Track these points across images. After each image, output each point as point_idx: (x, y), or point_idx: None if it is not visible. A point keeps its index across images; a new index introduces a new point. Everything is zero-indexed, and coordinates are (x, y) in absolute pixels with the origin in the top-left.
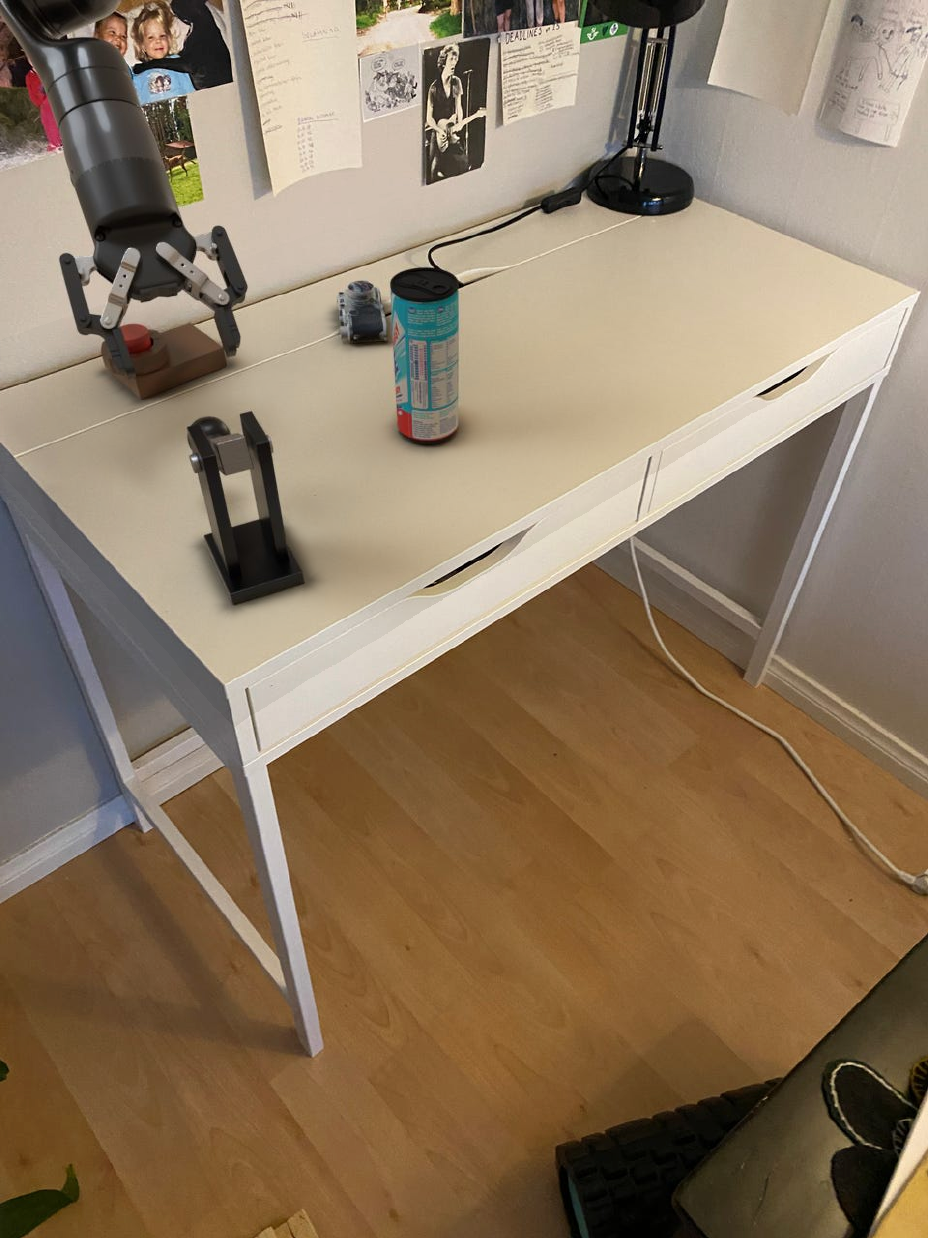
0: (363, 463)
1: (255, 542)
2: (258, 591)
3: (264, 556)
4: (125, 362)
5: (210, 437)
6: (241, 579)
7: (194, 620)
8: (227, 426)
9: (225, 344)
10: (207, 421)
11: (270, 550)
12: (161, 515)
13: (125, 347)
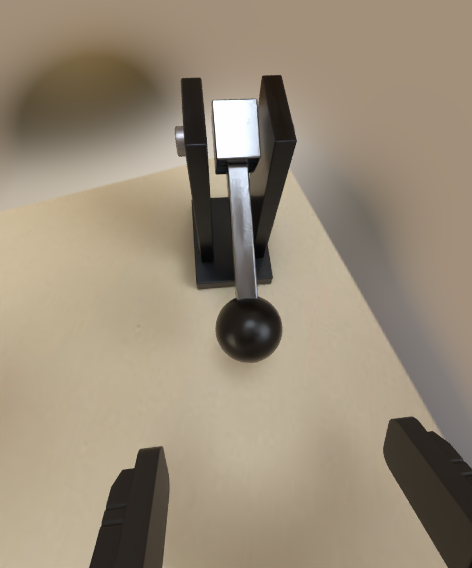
0: (57, 368)
1: (223, 248)
2: None
3: (219, 228)
4: (422, 432)
5: (251, 271)
6: None
7: (291, 199)
8: (218, 326)
9: (161, 478)
10: (249, 315)
11: (212, 233)
12: (312, 350)
13: (438, 467)
